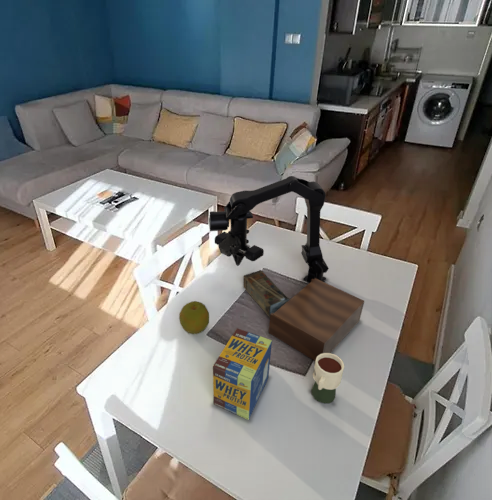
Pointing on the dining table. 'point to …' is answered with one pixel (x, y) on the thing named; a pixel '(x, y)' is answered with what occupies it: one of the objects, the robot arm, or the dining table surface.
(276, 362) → the dining table surface
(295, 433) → the dining table surface
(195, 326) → the apple
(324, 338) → the walnut wood chunk
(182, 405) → the dining table surface
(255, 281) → the beverage carton
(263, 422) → the dining table surface
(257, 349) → the protein box
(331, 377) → the character mug
